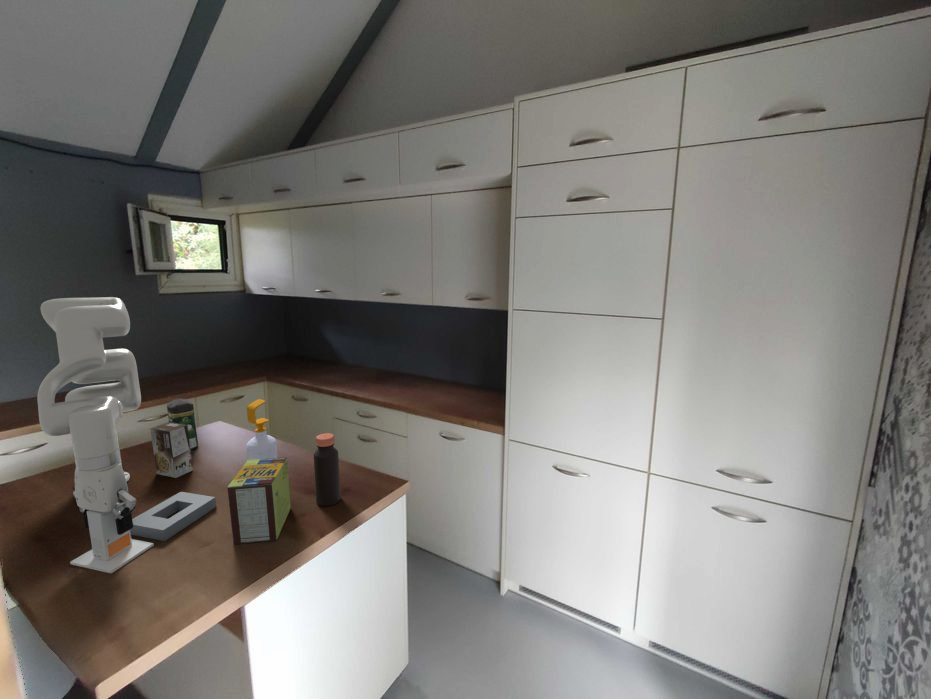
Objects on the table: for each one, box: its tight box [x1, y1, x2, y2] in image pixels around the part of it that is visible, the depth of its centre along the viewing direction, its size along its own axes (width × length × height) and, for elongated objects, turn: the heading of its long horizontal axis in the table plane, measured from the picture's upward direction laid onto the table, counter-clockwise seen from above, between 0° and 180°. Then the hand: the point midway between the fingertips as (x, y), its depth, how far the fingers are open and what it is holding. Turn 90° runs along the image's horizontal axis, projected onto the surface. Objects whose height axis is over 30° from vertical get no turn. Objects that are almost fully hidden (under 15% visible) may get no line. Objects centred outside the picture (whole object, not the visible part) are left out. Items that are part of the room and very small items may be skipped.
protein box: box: [227, 457, 292, 545], centre depth 110 cm, size 10×15×16 cm
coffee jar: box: [166, 398, 199, 450], centre depth 158 cm, size 10×8×19 cm
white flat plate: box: [69, 538, 155, 574], centre depth 99 cm, size 12×10×1 cm
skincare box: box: [87, 503, 132, 561], centre depth 98 cm, size 6×4×12 cm
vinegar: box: [313, 432, 341, 507], centre depth 122 cm, size 7×7×20 cm
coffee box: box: [149, 421, 194, 479], centre depth 139 cm, size 9×6×16 cm
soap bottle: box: [246, 398, 279, 460], centre depth 139 cm, size 9×9×25 cm
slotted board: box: [130, 491, 217, 542], centre depth 113 cm, size 12×16×3 cm
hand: (109, 528), depth 98 cm, fingers open, 9 cm apart
